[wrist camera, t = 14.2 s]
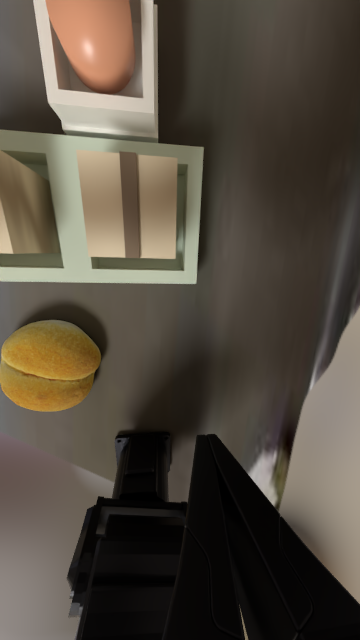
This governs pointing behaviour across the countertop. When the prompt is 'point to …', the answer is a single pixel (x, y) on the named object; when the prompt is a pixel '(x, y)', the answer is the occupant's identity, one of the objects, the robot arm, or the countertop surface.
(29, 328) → the bread roll
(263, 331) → the countertop surface
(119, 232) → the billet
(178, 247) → the pale green divided tray
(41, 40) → the button housing
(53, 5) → the button
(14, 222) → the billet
